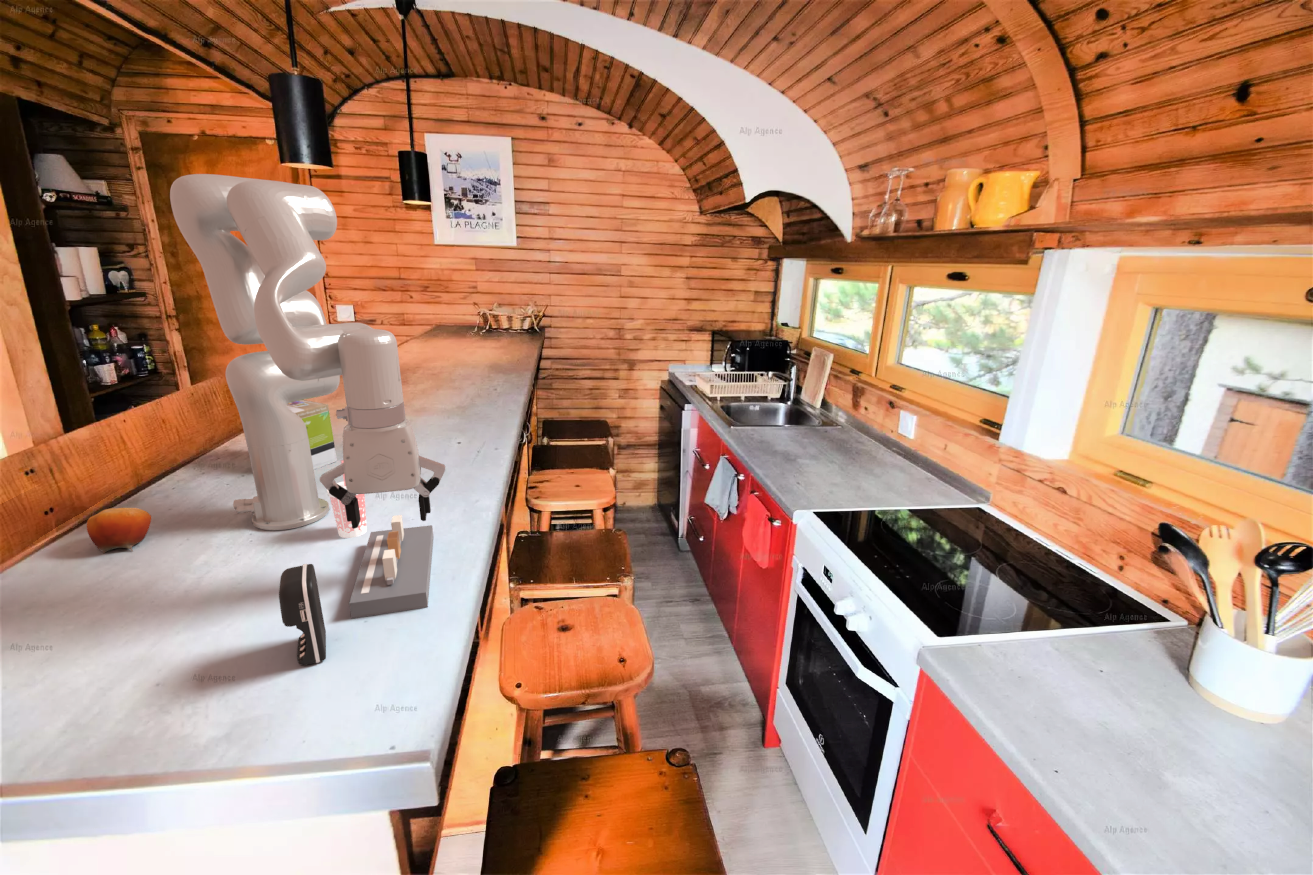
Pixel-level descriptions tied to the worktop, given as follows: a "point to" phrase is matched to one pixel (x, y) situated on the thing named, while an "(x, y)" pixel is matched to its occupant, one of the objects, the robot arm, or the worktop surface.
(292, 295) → the robot arm
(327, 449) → the tea box
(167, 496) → the worktop surface
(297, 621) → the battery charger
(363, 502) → the beverage cup
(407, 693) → the worktop surface
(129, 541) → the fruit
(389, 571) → the switch paddles
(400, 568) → the switch panel
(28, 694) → the worktop surface
